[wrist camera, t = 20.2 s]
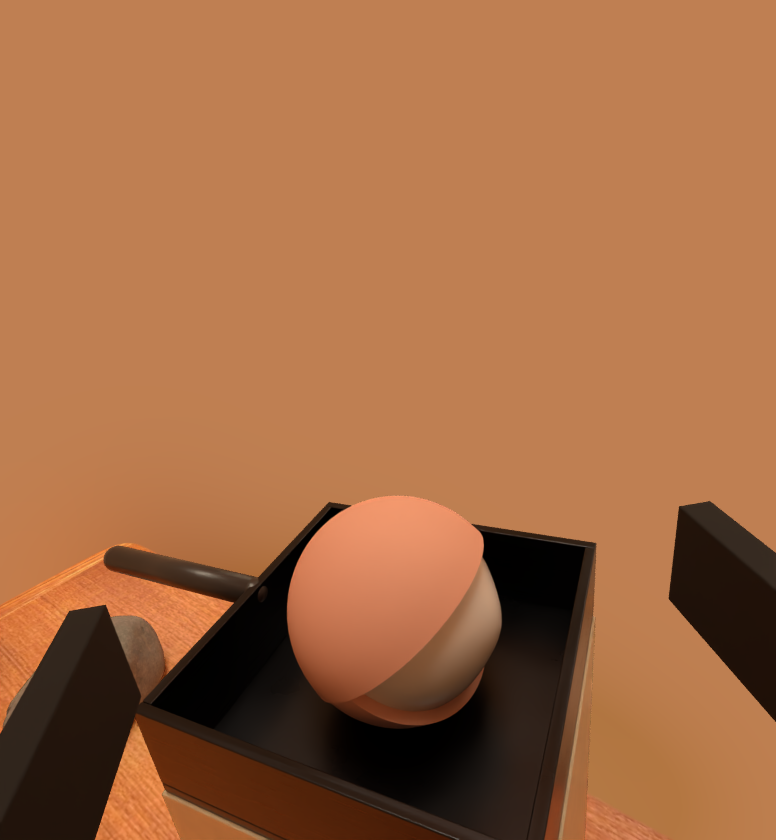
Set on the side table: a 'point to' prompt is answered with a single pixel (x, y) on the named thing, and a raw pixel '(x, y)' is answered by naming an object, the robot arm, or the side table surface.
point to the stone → (130, 655)
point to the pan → (363, 743)
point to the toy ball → (394, 612)
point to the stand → (216, 836)
